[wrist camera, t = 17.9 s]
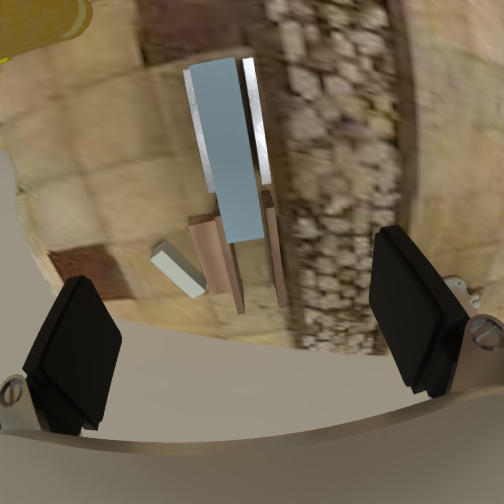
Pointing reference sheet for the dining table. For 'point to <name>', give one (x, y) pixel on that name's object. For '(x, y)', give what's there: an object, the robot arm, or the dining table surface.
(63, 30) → the book
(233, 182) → the tall sheet
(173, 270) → the offcut upper
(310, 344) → the dining table surface
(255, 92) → the grey rack
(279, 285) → the walnut rack
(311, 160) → the dining table surface
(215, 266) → the offcut lower
